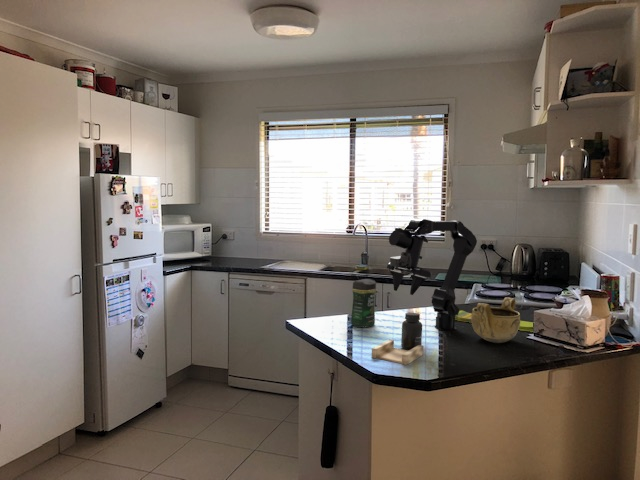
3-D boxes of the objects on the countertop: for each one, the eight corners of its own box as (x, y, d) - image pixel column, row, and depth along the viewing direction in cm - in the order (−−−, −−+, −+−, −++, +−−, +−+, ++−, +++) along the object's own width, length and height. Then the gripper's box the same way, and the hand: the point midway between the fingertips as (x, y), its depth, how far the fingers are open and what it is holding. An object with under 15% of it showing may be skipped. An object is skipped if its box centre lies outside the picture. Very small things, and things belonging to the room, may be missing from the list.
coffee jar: (363, 329, 202) (365, 281, 200) (347, 325, 207) (349, 279, 206) (378, 324, 209) (379, 279, 208) (362, 321, 214) (363, 276, 213)
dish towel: (461, 314, 233) (461, 307, 233) (546, 328, 212) (546, 320, 212) (448, 321, 221) (448, 313, 221) (536, 335, 200) (537, 327, 200)
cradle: (389, 348, 177) (389, 339, 177) (422, 354, 171) (423, 345, 171) (371, 357, 167) (371, 348, 166) (406, 365, 160) (406, 355, 160)
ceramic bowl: (500, 351, 176) (503, 308, 175) (456, 340, 188) (458, 299, 187) (530, 340, 191) (533, 299, 190) (488, 330, 203) (490, 292, 202)
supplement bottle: (421, 352, 174) (422, 316, 173) (400, 350, 175) (401, 315, 174) (421, 346, 181) (422, 312, 180) (401, 344, 182) (402, 310, 181)
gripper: (380, 244, 197) (371, 284, 196) (413, 249, 181) (403, 292, 180) (402, 251, 203) (393, 290, 202) (436, 256, 187) (426, 298, 186)
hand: (403, 292), depth 193 cm, fingers open, 9 cm apart
